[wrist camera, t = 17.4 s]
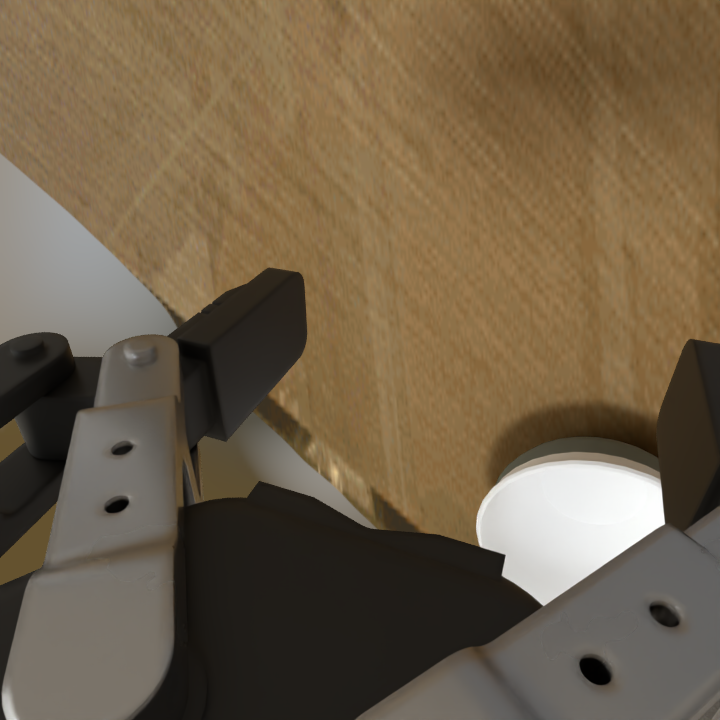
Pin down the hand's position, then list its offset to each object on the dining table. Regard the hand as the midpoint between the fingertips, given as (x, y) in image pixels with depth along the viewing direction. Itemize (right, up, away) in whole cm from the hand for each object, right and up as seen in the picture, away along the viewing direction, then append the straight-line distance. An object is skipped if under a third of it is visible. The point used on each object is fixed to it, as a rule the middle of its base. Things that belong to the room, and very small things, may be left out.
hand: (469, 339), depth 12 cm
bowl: (+19, -12, +40) cm, 46 cm away
